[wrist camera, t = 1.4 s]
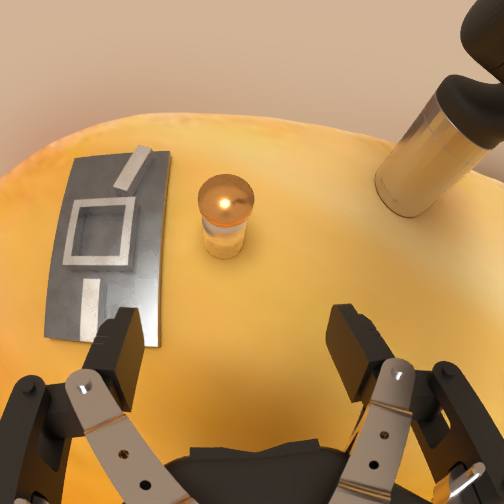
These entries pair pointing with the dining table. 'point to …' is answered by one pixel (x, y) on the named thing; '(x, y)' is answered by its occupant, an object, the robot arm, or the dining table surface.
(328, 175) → the dining table surface
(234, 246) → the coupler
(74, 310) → the coupling base
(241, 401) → the dining table surface
